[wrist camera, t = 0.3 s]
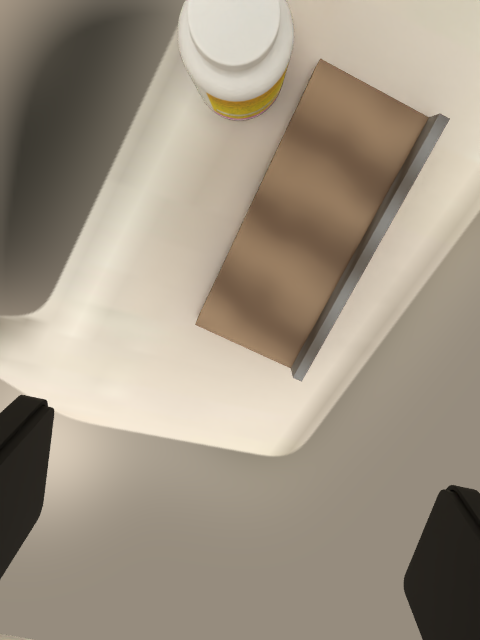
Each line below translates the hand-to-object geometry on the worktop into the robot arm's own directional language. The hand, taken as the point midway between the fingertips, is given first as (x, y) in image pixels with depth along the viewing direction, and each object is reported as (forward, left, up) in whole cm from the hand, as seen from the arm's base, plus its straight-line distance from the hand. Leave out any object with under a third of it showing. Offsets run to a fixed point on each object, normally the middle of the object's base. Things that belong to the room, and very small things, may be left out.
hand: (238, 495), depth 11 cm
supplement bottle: (-13, -7, -30) cm, 33 cm away
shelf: (-5, +3, -30) cm, 30 cm away
